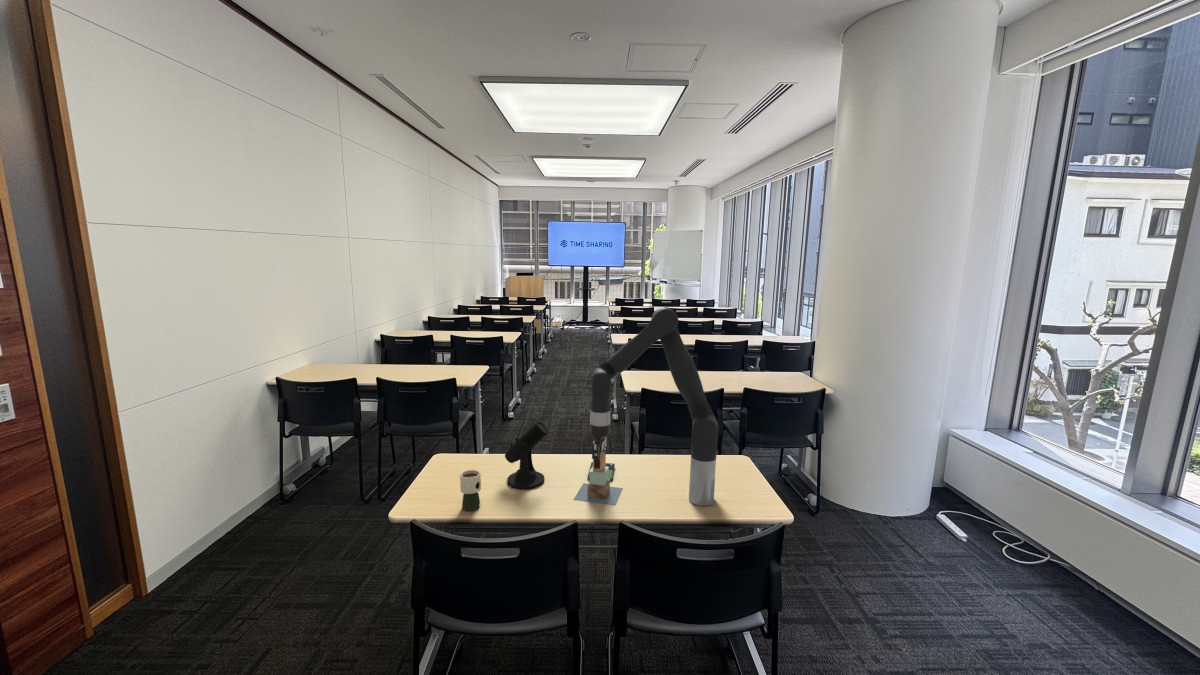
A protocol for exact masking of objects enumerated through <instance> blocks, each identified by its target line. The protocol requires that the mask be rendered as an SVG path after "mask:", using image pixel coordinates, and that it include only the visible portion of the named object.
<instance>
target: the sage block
mask: <svg viewBox="0 0 1200 675" xmlns="http://www.w3.org/2000/svg"><path fill="white" fill-rule="evenodd" d="M589 470H590V469H589ZM589 470H588V474H589V480H588V483H589V484H593V485H601V486H605V485H606V483H607V481H608V476H609V467H607V466H605V471H602V472H596V471H594V470H593V467H592V468H591V470H590V471H589Z"/></svg>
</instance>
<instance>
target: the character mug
mask: <svg viewBox="0 0 1200 675" xmlns="http://www.w3.org/2000/svg"><path fill="white" fill-rule="evenodd" d="M481 474H482V473H481V471H479V470H477V469H467V470H464V471H461V472H460V473H459V479H460V480H459V482H460V493H462V494H463V495H462V502H461V503H462V504H461V508H462V509H463V510H468V511H475V510H477V509H479V508H480V506H481V500H480V495H479V492H480V491H481V490H482V482H481V481H482V479H481V476H482V475H481Z"/></svg>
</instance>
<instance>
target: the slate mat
mask: <svg viewBox="0 0 1200 675" xmlns="http://www.w3.org/2000/svg"><path fill="white" fill-rule="evenodd" d="M623 490H624V488H623V487H617V486H610V491H609V493H608V496H607V498H606V499H599V498H592V497H587V495H588V483H586V482H583V483H582V484H581V487H580V488H579V490H578V491H577V493H576V494H575V495H574V498H573V501H579V502H587V503H592V504H599V505H608V506H613V507H614V506H616V505H617V504H618V501H619V498H620V496H621V495H622V491H623Z"/></svg>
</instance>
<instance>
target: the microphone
mask: <svg viewBox="0 0 1200 675" xmlns="http://www.w3.org/2000/svg"><path fill="white" fill-rule="evenodd" d="M548 434H549V432H548V429H547V427H546V426H545V424H543V423H542V422H540V421H535V423H533V424H532V425H531V426H530V427H529V428H528V429H527V430H526V431H525V432H524V433H523V434H522V435H520V436H519V437H515V438H514V440H515V441H514V442H510V443H509V447H508V449H507V450H506V452H505V454H504V458H505V459H506V461H507V462H508V463H510V464H513V463H516V462H518V461H519V469H517V470H516V471H515V472H512V473H511V474H510V475H508V477H507V479H506V483H507V486H509V487H510V486H511V487H510V488H511V489H514V488H515V489H514V490H518V489H519V490H520V491H521V490H522V491H526V490H527V491H528V490H534V489H536V488H537V489H538V488H539V487H541V486H543V485H544V483H545V475H544V474H543V473H541V472H539V471H537V470H536V469H535V467H534V464H533V458H532V457H533V456H532V450H533V448H534V447H535V446H536V445H537V444H539V443H540V441H542V440H543V439H544V438H545V437H546V436H547V435H548ZM519 490H518V491H519Z"/></svg>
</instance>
